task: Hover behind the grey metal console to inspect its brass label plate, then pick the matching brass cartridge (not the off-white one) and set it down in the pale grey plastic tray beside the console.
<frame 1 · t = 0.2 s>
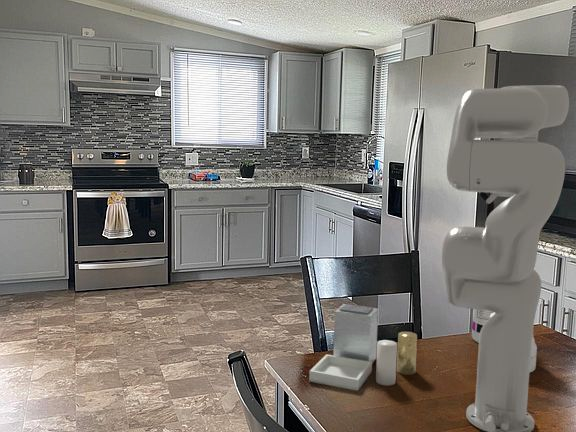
hand: (513, 222, 131), 37 cm above the table, tool pointing down, fingers open, 9 cm apart
tray: (341, 376, 134), on the table
console: (354, 360, 144), on the table
supplement can: (487, 341, 160), on the table
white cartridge: (385, 381, 132), on the table
brass cartridge: (406, 371, 138), on the table
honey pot: (507, 364, 144), on the table
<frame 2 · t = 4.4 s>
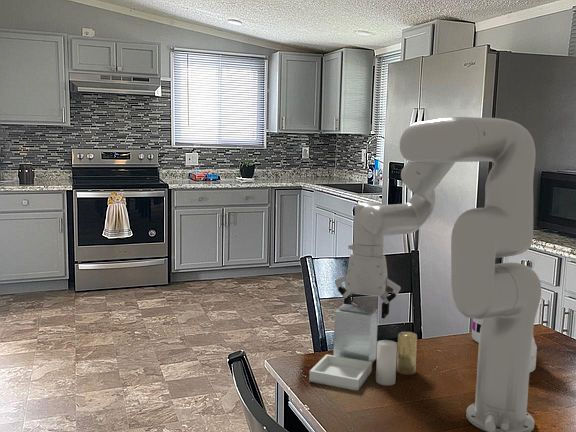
hand: (366, 314, 151), 9 cm above the table, tool pointing down, fingers open, 9 cm apart
nothing on the table moved.
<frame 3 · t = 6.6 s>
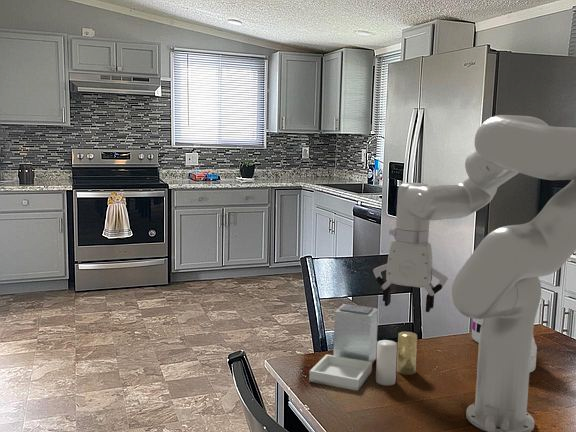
hand: (407, 307, 136), 15 cm above the table, tool pointing down, fingers open, 9 cm apart
nothing on the table moved.
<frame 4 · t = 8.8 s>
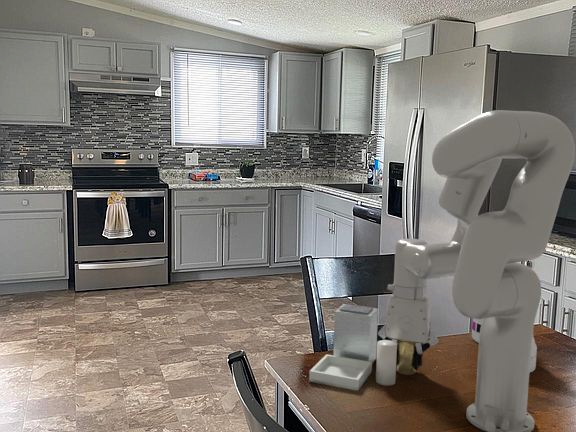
hand: (406, 365, 137), 1 cm above the table, tool pointing down, fingers closed on brass cartridge, 4 cm apart
brass cartridge: (406, 371, 138), on the table, touching gripper
everything else where it was.
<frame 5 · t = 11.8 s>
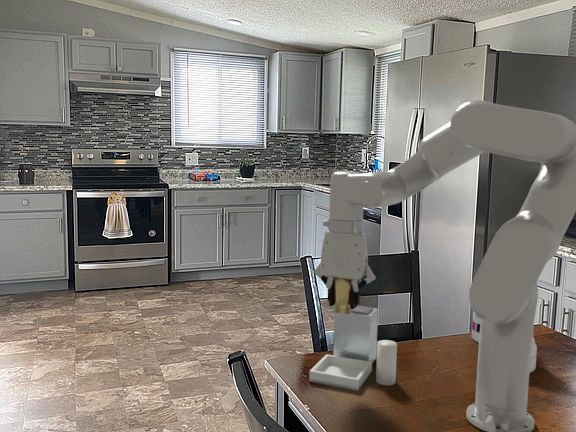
hand: (343, 305, 131), 17 cm above the table, tool pointing down, fingers closed on brass cartridge, 4 cm apart
brass cartridge: (343, 310, 132), point 16 cm above the table, touching gripper
everything else where it was.
when the fingers open (4 cm above the table, at t = 14.8 s): brass cartridge drops 2 cm, resting on tray.
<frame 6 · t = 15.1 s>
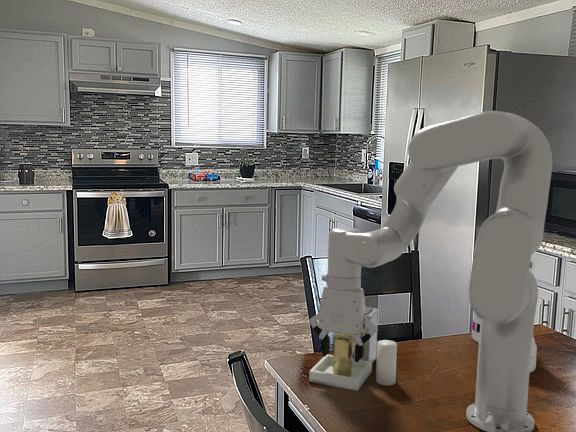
hand: (341, 356, 133), 5 cm above the table, tool pointing down, fingers open, 7 cm apart
brass cartridge: (342, 374, 133), point 1 cm above the table, touching tray
everything else where it was.
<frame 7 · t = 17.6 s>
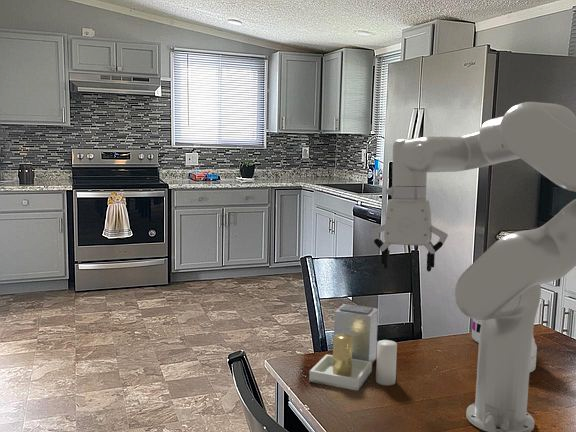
hand: (407, 268, 131), 26 cm above the table, tool pointing down, fingers open, 9 cm apart
nothing on the table moved.
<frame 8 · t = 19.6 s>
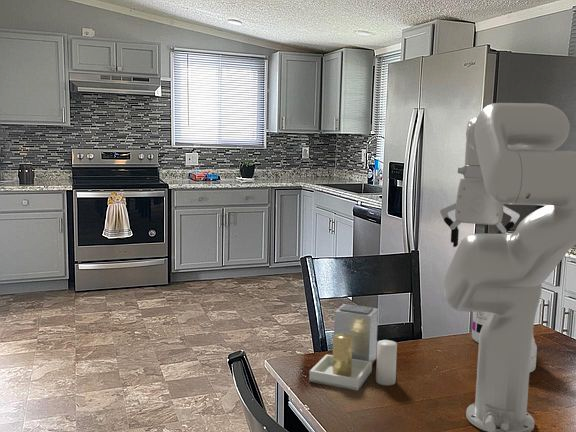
hand: (477, 247, 133), 30 cm above the table, tool pointing down, fingers open, 9 cm apart
nothing on the table moved.
at the end: brass cartridge inside the target area on the tray (0.2 cm from its centre), point 0.6 cm above the tray's base; brass cartridge tilted 1°; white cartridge moved 0.0 cm from its start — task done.
